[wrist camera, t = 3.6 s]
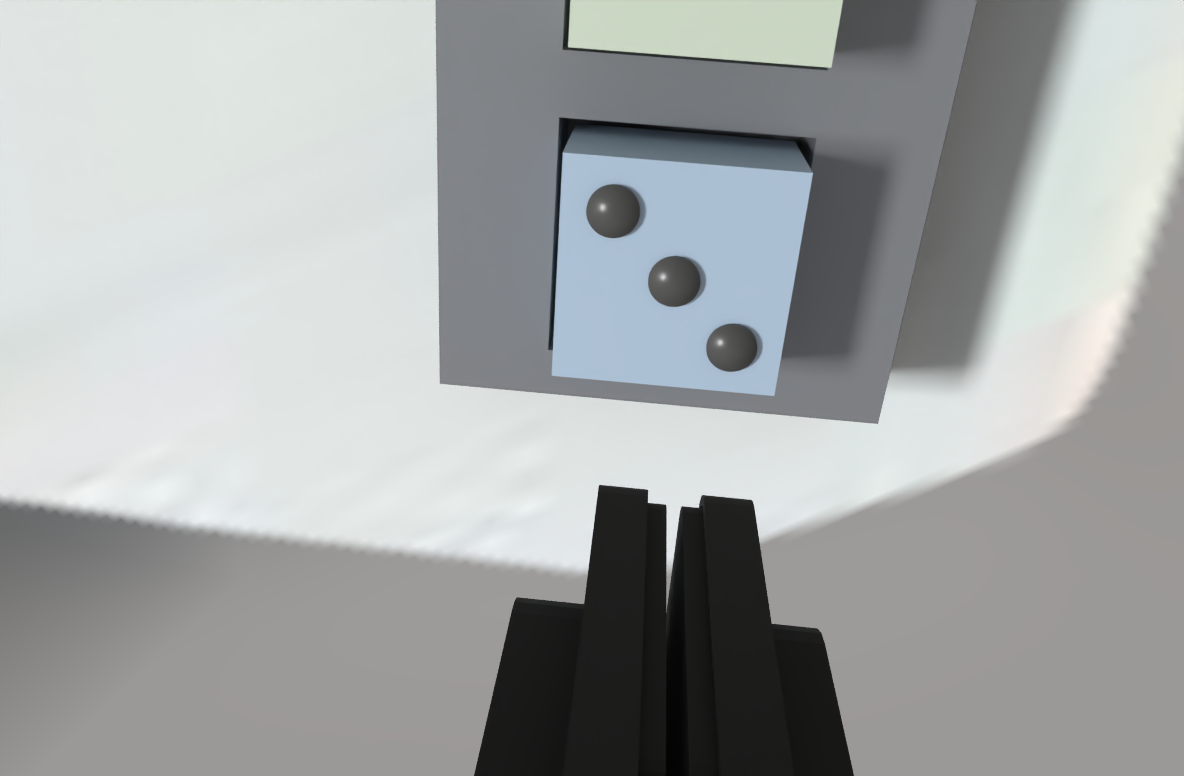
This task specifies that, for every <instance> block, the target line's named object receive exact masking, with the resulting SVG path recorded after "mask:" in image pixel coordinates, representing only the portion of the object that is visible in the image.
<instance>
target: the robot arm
mask: <svg viewBox="0 0 1184 776" xmlns="http://www.w3.org/2000/svg"><path fill="white" fill-rule="evenodd" d="M474 776H854V774H853V770H852V765H851V760H850V756H849V752H848V747H847V742H846V738H845V733H844V729H843V724H842V720H841V715H840V710H839V706H838V701H837V697H836V692H835V688H834V683H833V679H832V674H831V670H830V666H829V661H828V656H827V651H826V647H825V643H824V640H823V637H822V634H821V632H820V631H819V630H818V629H816V628H806V627H797V626H788V625H778V624H772V623H771V617H770V610H769V603H768V597H767V590H766V583H765V576H764V570H763V563H762V557H761V550H760V543H759V536H758V530H757V523H756V516H755V510H754V504H753V501H752V500H746V499H735V498H725V497H715V496H705V495H702V497H701V500H700V504H699V508H693V507H683V506H682V507H681V511H680V516H679V524H678V531H677V538H676V546H675V553H674V561H673V568H672V576H671V583H670V590H669V598H668V605H667V613H666V505H663V504H653V503H648V490H645V489H635V488H625V487H614V486H604V485H599V490H598V498H597V506H596V514H595V522H594V530H593V538H592V546H591V554H590V562H589V570H588V578H587V587H586V595H585V602H584V604H576V603H575V604H574V603H566V602H556V601H546V600H536V599H527V598H516V600H515V602H514V606H513V609H512V613H511V617H510V622H509V626H508V630H507V635H506V639H505V643H504V648H503V652H502V656H501V661H500V665H499V669H498V674H497V678H496V683H495V687H494V691H493V696H492V700H491V704H490V709H489V713H488V717H487V722H486V726H485V731H484V735H483V739H482V744H481V748H480V752H479V757H478V761H477V765H476V770H475V774H474Z"/></svg>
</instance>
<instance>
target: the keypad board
mask: <svg viewBox="0 0 1184 776" xmlns="http://www.w3.org/2000/svg"><path fill="white" fill-rule="evenodd" d="M976 3H977V0H843V4H842V10H841V15H840V21H839V27H838V33H837V38H836V44H835V50H834V56H833V61H832V67H831V68H828V67H815V66H802V65H790V64H777V63H764V62H751V61H738V60H726V59H713V58H700V57H687V56H674V55H661V54H649V53H636V52H623V51H610V50H597V49H584V48H572V47H568V38H569V18H570V0H436V71H437V162H438V253H439V345H440V384H450V385H461V386H472V387H483V388H494V389H504V390H515V391H526V392H537V393H548V394H559V395H570V396H581V397H592V398H603V399H613V400H624V401H635V402H646V403H657V404H668V405H679V406H690V407H701V408H711V409H722V410H733V411H744V412H755V413H766V414H777V415H788V416H799V417H809V418H820V419H831V420H842V421H853V422H864V423H875V424H878V421H879V417H880V412H881V408H882V404H883V400H884V395H885V391H886V387H887V383H888V378H889V374H890V370H891V365H892V361H893V357H894V353H895V348H896V344H897V340H898V336H899V331H900V327H901V323H902V319H903V314H904V310H905V306H906V302H907V297H908V293H909V289H910V285H911V280H912V276H913V272H914V268H915V263H916V259H917V255H918V250H919V246H920V242H921V238H922V233H923V229H924V225H925V221H926V216H927V212H928V208H929V204H930V199H931V195H932V191H933V187H934V182H935V178H936V174H937V170H938V165H939V161H940V157H941V153H942V148H943V144H944V140H945V135H946V131H947V127H948V123H949V118H950V114H951V110H952V106H953V101H954V97H955V93H956V89H957V84H958V80H959V76H960V72H961V67H962V63H963V59H964V55H965V50H966V46H967V42H968V38H969V33H970V29H971V25H972V20H973V16H974V12H975V8H976ZM576 124H588V125H600V126H612V127H625V128H637V129H649V130H662V131H674V132H686V133H699V134H711V135H723V136H736V137H748V138H760V139H773V140H785V141H795V143H796V144H797V146H798V148H799V150H800V151H801V153H802V155H803V157H804V158H805V160H806V162H807V163H808V165H809V167H810V169H811V170H812V172H813V176H812V182H811V188H810V194H809V199H808V205H807V211H806V217H805V222H804V228H803V234H802V240H801V245H800V251H799V257H798V263H797V268H796V274H795V280H794V286H793V291H792V297H791V303H790V309H789V314H788V320H787V326H786V332H785V337H784V343H783V349H782V355H781V360H780V366H779V372H778V378H777V383H776V389H775V395H774V396H769V395H758V394H747V393H736V392H725V391H714V390H703V389H692V388H681V387H670V386H659V385H648V384H637V383H626V382H615V381H604V380H593V379H582V378H571V377H560V376H552V357H553V337H554V317H555V298H556V278H557V258H558V238H559V218H560V198H561V178H562V158H563V151H564V149H565V147H566V144H567V142H568V140H569V138H570V136H571V134H572V131H573V129H574V127H575V125H576Z"/></svg>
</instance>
